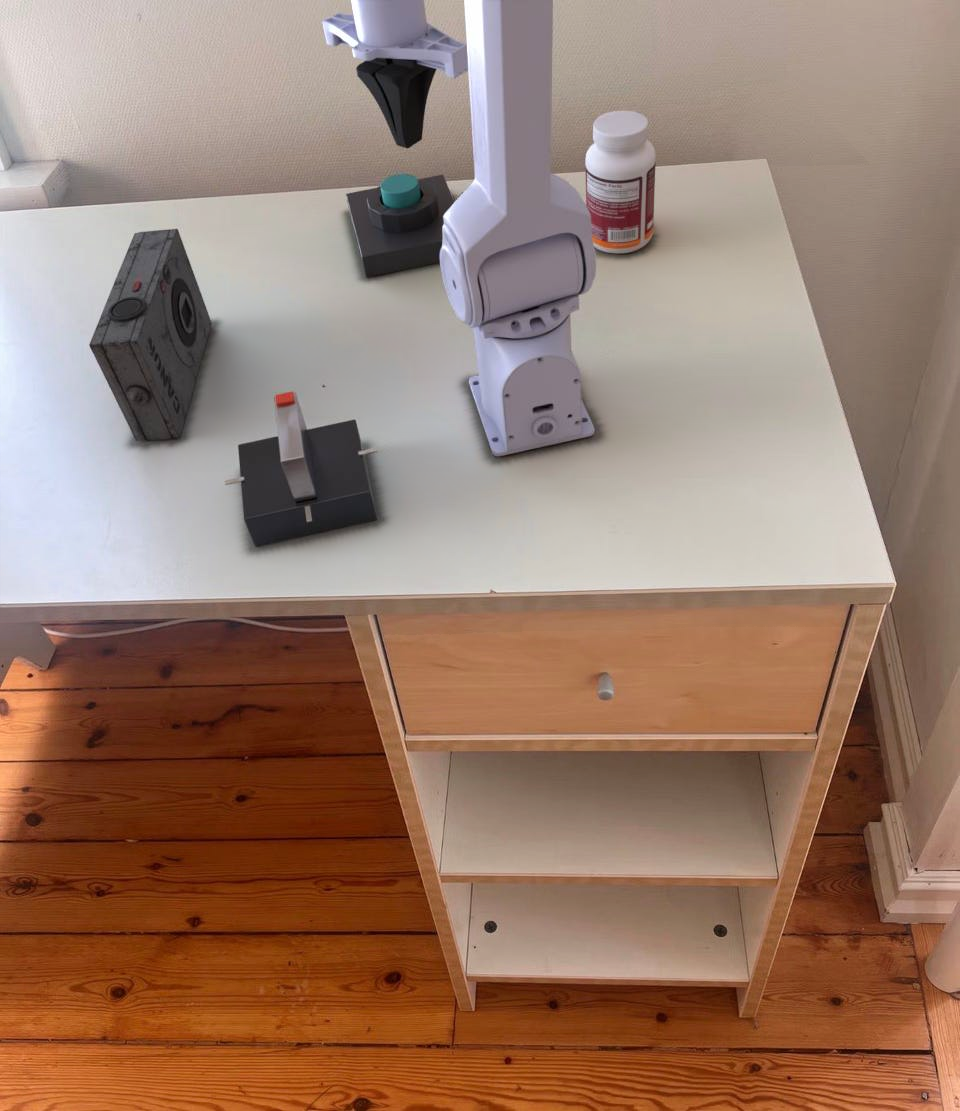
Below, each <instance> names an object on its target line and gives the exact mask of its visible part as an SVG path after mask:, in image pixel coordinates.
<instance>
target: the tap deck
mask: <svg viewBox="0 0 960 1111" xmlns="http://www.w3.org/2000/svg"><path fill="white" fill-rule="evenodd" d="M307 430H308V435H309V442H310V449H311V457H312V464H313V472H314V479H315V486H316V494H317V497H316V498H311V499H307V500H302V501H297V502H295V501H294V499H293V496H292V493H291V490H290V487H289V484H288V481H287V478H286V475H285V472H284V470H283V467H282V464H281V459H280V450H279V440H278V435H276V436H272V437H267V438H263V439H258V440H253V441H248V442H244V443H239V444H238V445H237V449H238V461H239V462H238V463H239V474H240V477H235V478H231V479H226V480H224V485H225V486H229V485H234V484H238V483H239V484H240V486H241V488H240V489H241V500H242V512H243V520H244V523H245V526H246V528H247V531H248V533H249V535H250V537H251V540H252V542H253V545H254V547H255V548H258V547H262V546H266V545H267V546H268V545H271V544H276V543H281V542H285V541H290V540H294V539H298V538H303V537H306V536H307V537H308V536H313V535H316V534H320V533H324V532H329V531H333V530H334V531H335V530H339V529H343V528H348V527H352V526H356V525H361V524H366V523H369V522H374V521H378V515H377V509H376V505H375V499H374V495H373V491H372V485H371V481H370V480H371V479H370V476H369V475H370V474H369V471H368V465H367V461H366V455H370V454H376V453H378V447H377V446H376V447H371V448H367V449H364V447H363V442H362V439H361V435H360V430H359V427H358V423H357V419H349V420H346V421H342V422H341V421H340V422H336V423H332V424H331V423H330V424H327V425H326V424H325V425H323V426H317V427H313V428H309V429H308V428H307Z"/></svg>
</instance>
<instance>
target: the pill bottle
mask: <svg viewBox="0 0 960 1111" xmlns="http://www.w3.org/2000/svg"><path fill="white" fill-rule="evenodd" d="M592 127H593V128H592V139H593V143H592V144H591V145H590V146H589V148H588V150H587V152H586V154H585V159H584V160H585V162H584V165H585V167H584V169H585V205H586V206H587V208H588V210H589V212H590V215H591V232H592V240H593V244H594V248H595V249H596V250H599V251H601V252H603V253H604V252H605V253H609V254H629V253H632V252H636V251H638V250H640V249H642V248H643V247H645V246H646V245H647V244H648V243H649V242H650V241H651V239H652V237H653V235H654V228H655V227H654V221H655V220H654V218H655V189H656V188H655V187H656V162H657V161H656V160H657V155H656V154H657V153H656V150H655V147H654V145H653V144H652V143H651V142H650V141H649V140H648V136H649V120H648V118H647V117H646V116H645V115H644V114H642V113H639V112H637V111H633V110H613V111H609V112H606V113H604V114H601V115H599V116H598V117H597V118H596V119H595V120H594V122H593V126H592Z"/></svg>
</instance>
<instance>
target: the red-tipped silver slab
mask: <svg viewBox="0 0 960 1111" xmlns="http://www.w3.org/2000/svg"><path fill="white" fill-rule="evenodd" d="M273 399H274V411H275V419H276V420H275V421H276V429H277V436H278V440H279V450H280V459H281V464H282V467H283V470H284V472H285V475H286V478H287V481H288V484H289V487H290V490H291V493H292V496H293V499H294V501H295V502H297V501H302V500H307V499H311V498H316V497H317V494H316V486H315V479H314V472H313V464H312V457H311V449H310V442H309V435H308V428H307V427H308V426H307V424H306V421H305V418H304V414H303V411H302V408H301V405H300V401H299V398H298V395H297V392H294V391H293V390H292V391H288V392H284V393H279V394H275V395H274V397H273Z"/></svg>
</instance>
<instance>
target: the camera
mask: <svg viewBox="0 0 960 1111" xmlns="http://www.w3.org/2000/svg"><path fill="white" fill-rule="evenodd" d="M180 234H181V233H180V231H179V229H178V228H171V229H170V228H169V229H157V230H147V231H138V232H135V233H133V235H132V239H131V241H130V244H129V246H128V249H127V251H126V253H125V256H124V258H123V260H122V263H121V265H120V267H119V270H118V272H117V274H116V278H115V280H114V282H113V284H112V288H111V290H110V292H109V295H108V297H107V300H106V303H105V304H104V306H103V308H102V312H101V315H100V317H99V320H98V322H97V324H96V327H95V329H94V332H93V335H92V336H91V339H90V342H89V348H90V350H91V352H92V354H93V357H94V358H95V360H96V362H97V364H98V366H99V368H100V370H101V372H102V374H103V376H104V377H105V381H106V382H107V385H108V388H109V389H110V391H111V393H112V395H113V396H114V399H115V401H116V403H117V405H118V407H119V409H120V411H121V414H122V415H123V418H124V419H125V422H126V424H127V426H128V427H129V430H130V431H131V433H132V436H133V438H134V440H135V442H139V441H141V442H142V441H143V442H144V441H156V440H167V439H168V440H170V439H180V438H181V436H182V433H183V429H184V426H185V421H186V418H187V415H188V411H189V407H190V404H191V400H192V397H193V393H194V390H195V386H196V381H197V378H198V374H199V371H200V366H201V362H202V359H203V356H204V352H205V349H206V345H207V342H208V338H209V335H210V331H211V328H212V324H213V323H212V320H211V317H210V314H209V312H208V309H207V306H206V303H205V300H204V296H203V295H202V292H201V290H200V286H199V284H198V280H197V278H196V276H195V273H194V271H193V266H192V265H191V261H190V259H189V256H188V253H187V251H186V248H185V246H184V242H183V240H182V237H181V235H180Z"/></svg>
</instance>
